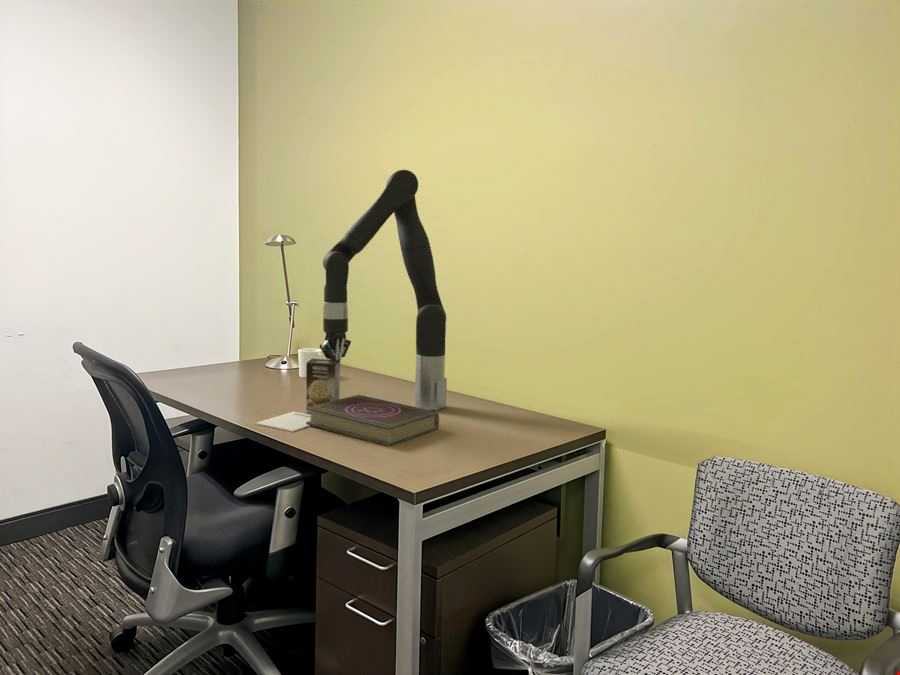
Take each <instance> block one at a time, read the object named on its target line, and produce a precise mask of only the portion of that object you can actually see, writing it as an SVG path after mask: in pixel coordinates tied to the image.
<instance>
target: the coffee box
mask: <svg viewBox="0 0 900 675" xmlns="http://www.w3.org/2000/svg"><path fill="white" fill-rule="evenodd" d="M340 371H341V360H330V359H327V358H326V359H325V358H323V359H311V360H309V361H308V362H307V363H306V386H305V387H306V391H305V392H306V395H305V396H306V403H305V404H306V407H309V406H314V405H318V404H322V403H326V402H330V401H335V400H339V399H340V393H341V392H340V384H341V383H340V381H341V380H340V379H341V378H340V377H341V376H340V374H341V372H340ZM305 409H306V408H305ZM305 412H306V413H305V414H309V415H311V411H310V410H307V409H306V411H305Z"/></svg>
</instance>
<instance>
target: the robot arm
mask: <svg viewBox="0 0 900 675" xmlns="http://www.w3.org/2000/svg"><path fill="white" fill-rule="evenodd" d="M418 190H419V181H418V177H417V176H416V174H414V172H412V171H410V170H407V169H400V170H396V171H394V172H393V173H392V174H391V175H390V176H389V178H388V179H387V181H386V186H385V188H384V189H383V191H382V192H381V194H380V196H379V197H377V199H376V200H375V202H374V203H372V205H371V206H370V207H369V208H368V209H367V210H366V211H365V212H364V213H363V214H362V215H361V216H360V217H359V218H358V219H357V220H356V221H355V222H354V223H353V224H352V225H351V227H350V228H349V229H348V230H347V232H346V233H345V234H344V235H343V237H342V238H341V239H340V240H339V241H338V242H337V243H336V244H335V245H333V247H332V248H331V249H329V251H328V252H327V253H325V255H324V257H323V260H322V266H323V268H324V270H325V285H324V288H323V307H322V308H323V310H322V311H323V312H322V316H323V318H322V319H323V320H322V321H323V322H322V324H323V326H322V330H323V332H324V333H325V337H324V342H323V343H320V345H319V349H321V350H322V354H323V355H324V357H325V358H326V359H327V360H340V361H341V360H342V359H343V358H345V357H346V354H347V353H348V350H349V348H350V346H351V344H352V341H351V340H348V339H347V335H346V333H347V332H348V330H349V306H348V288H347V286H348V279H349V270H350V268H349V267H350V266H349V264H350V262H351V261H352V260H353V258H354V257H355V256H356V255H358V254H360V252H362V251H363V250H364V248H365V247H366V246H367V245H368V244H370V242H371V241H372V239H373V238H374V237H375V236H376V234H377V233H378V231H380V229H381V228H382V227H383V226H384V225H385V223H386V222H387V221H388V219H389V218H390V217H391V216H392V215H393V214H394V217H395V221H396V229H397V234H398V235H397V236H398V240H399V246H400V250H401V257H402V260H403V264H404V268H405V270H406V272H407V276H408V278H409V280H410V283H411V285H412V288H413V290H414V294H415V295H414V296H415V300H416V306H417V315H416V321H415V323H416V324H415V352H416V353H415V383H414V384H415V385H414V386H415V387H414V388H415V389H414V407H417V408H421V409H426V410H430V411H440V410H442V409H444V408H446V407H447V389H448V386H447V385H448V379H447V377H445V373H446V372H445V368H446V332H447V313H446V311H445V308H444V306H443V302H442V300H441V296H440V294H439V291H438V286H437V279H436V270H435V264H434V256H433V252H432V249H431V248H432V247H431V244H430V243H431V242H430V239H429V237H428V234H427V232H426V229H425V227H424V225H423V224H422V222H421V220H420V216H419V213H418V208H417V202H416V194H417V192H418Z"/></svg>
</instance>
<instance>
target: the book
mask: <svg viewBox="0 0 900 675" xmlns="http://www.w3.org/2000/svg"><path fill="white" fill-rule="evenodd" d="M305 409H307V410H310V411H311V414H310V415H311V419H310V421H308V422H306V424H308V425H312V426H311V427H316V428H320V429H324V430H328V431H331V432H335V433H338V434H342V435H345V436H349V437H352V438H356V439H360V440H365V441H368V442H371V443H375V444H378V445H379V444H380V445H383V446H387V447H390V446H393V445H396V444H398V443H401V442H404V441H408V440H411V439H414V438H416V437H419V436H421V435H425V434H427V433H430V432H433V431H436V430H438V429H439V426H440V414H439V412H438V411H436V410H426V409H421V408H417V407H415V406H411V405H406V404H402V403H398V402H393V401H389V400H385V399H380V398H376V397H371V396H366V395H362V394H355V395H351V396H349V397H343V398H339V400H335V401H330V402H326V403H322V404H318V405H314V406H309V407H306V408H305Z"/></svg>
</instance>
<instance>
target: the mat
mask: <svg viewBox="0 0 900 675" xmlns="http://www.w3.org/2000/svg"><path fill="white" fill-rule="evenodd" d="M310 419H311V414H306V413H303V412H297V411H291V412H288V413H284V414H279V415H277V416H274V417H270V418H268V419H264V420H261V421H257V422H255V425H256V424H257V426H261V427H262V426H263V427H267V428H271V429H277V430H282V431H285V430H286V432H290V433H295V432H297V431H301V430H303V429H307V428H309V427H313V426H312V425H308V424H306V422H308V421H310Z"/></svg>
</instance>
